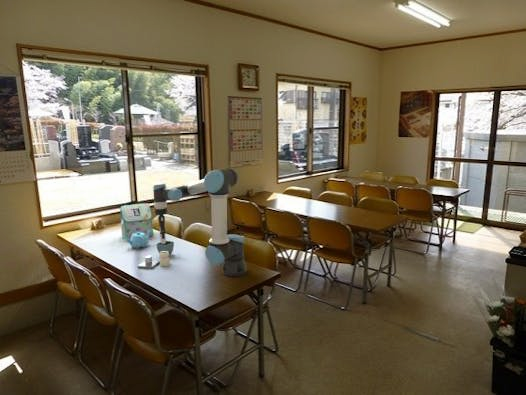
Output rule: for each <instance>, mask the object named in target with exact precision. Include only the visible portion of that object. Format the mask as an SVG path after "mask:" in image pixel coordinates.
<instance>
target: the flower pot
mask: <svg viewBox="0 0 526 395" xmlns="http://www.w3.org/2000/svg"><path fill="white" fill-rule="evenodd" d="M174 245H175V241H172V240H171V241H170V240H166V243H164V244H161V241H160V242H157V243H156V249H157V252H158V253H159V252H162V251H168V252H169V256H170V255H172V253H173V251H174V248H175V246H174Z"/></svg>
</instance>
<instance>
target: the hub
mask: <svg viewBox="0 0 526 395" xmlns="http://www.w3.org/2000/svg"><path fill="white" fill-rule="evenodd" d="M152 257H153V256H152V255H146V256H145V257H144V261H143V262H141V263H140V264H138V265H137V269H144V270H145V269H147V270H153V269H155V268H156V267H158V265H160V260H153V258H152Z"/></svg>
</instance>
